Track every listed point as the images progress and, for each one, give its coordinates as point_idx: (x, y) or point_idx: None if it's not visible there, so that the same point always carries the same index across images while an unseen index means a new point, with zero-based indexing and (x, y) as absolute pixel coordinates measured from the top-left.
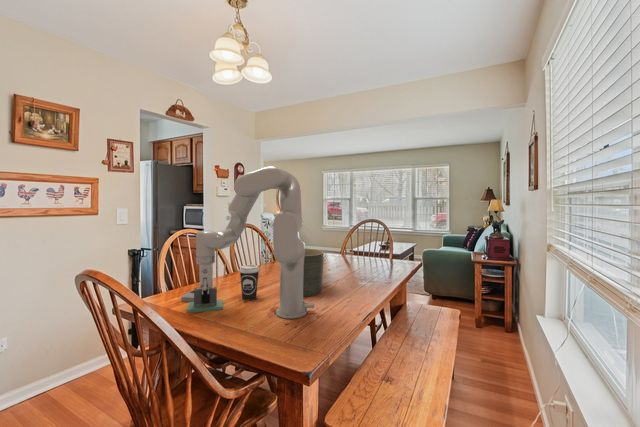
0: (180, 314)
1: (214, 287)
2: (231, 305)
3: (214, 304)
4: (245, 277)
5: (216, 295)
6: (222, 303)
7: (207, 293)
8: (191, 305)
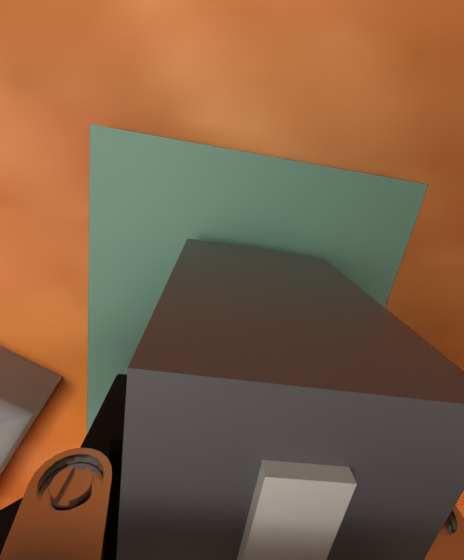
0: None
1: (249, 452)
2: (304, 28)
3: None
4: None
5: (380, 305)
6: (287, 164)
7: None
8: None
